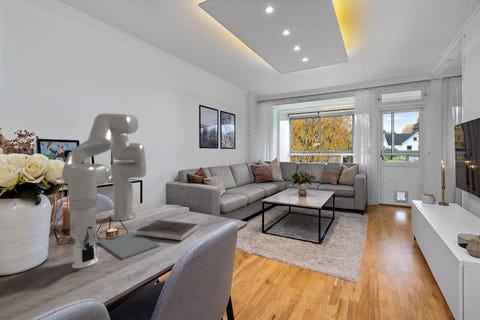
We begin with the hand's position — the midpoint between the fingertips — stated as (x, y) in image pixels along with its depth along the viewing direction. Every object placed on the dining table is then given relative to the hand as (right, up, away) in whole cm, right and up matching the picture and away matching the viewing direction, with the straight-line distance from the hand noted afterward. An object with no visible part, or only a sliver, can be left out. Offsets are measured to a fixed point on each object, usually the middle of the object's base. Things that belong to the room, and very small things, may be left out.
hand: (84, 256), depth 73 cm
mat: (+7, -2, +15) cm, 16 cm away
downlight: (0, -2, 0) cm, 2 cm away
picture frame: (+19, -1, +28) cm, 34 cm away
